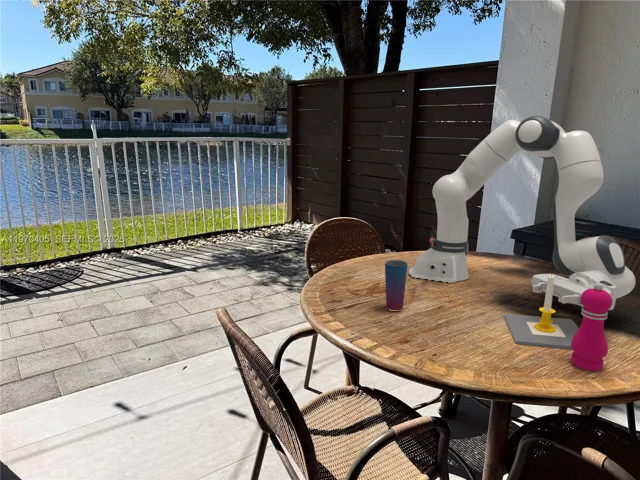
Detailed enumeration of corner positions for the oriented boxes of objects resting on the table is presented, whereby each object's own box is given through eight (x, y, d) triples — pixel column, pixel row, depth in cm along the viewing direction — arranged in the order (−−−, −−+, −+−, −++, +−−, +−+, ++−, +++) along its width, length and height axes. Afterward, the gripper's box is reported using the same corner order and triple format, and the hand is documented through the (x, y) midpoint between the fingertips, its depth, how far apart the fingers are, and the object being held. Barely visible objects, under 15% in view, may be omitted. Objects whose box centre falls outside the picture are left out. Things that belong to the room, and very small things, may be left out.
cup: (405, 314, 127) (407, 266, 124) (382, 312, 128) (384, 265, 125) (405, 305, 134) (407, 260, 130) (384, 304, 135) (385, 259, 131)
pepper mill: (561, 357, 101) (572, 278, 97) (590, 355, 102) (602, 277, 97) (582, 373, 94) (595, 288, 90) (612, 371, 95) (627, 287, 90)
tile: (515, 343, 108) (516, 340, 108) (503, 316, 125) (504, 313, 125) (594, 351, 104) (595, 348, 104) (571, 321, 121) (571, 318, 121)
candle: (551, 334, 111) (559, 278, 108) (531, 328, 115) (537, 274, 111) (558, 328, 115) (565, 274, 111) (538, 322, 118) (544, 269, 115)
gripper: (553, 266, 125) (517, 271, 120) (623, 288, 107) (584, 295, 102) (551, 286, 127) (515, 292, 122) (619, 311, 108) (580, 320, 103)
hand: (547, 294), depth 112 cm, fingers open, 7 cm apart
